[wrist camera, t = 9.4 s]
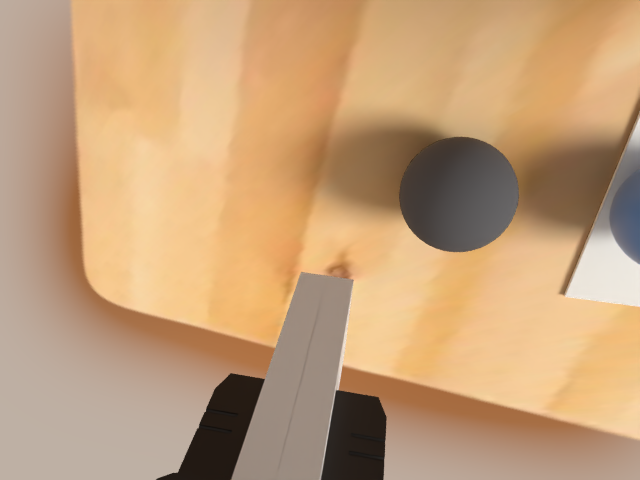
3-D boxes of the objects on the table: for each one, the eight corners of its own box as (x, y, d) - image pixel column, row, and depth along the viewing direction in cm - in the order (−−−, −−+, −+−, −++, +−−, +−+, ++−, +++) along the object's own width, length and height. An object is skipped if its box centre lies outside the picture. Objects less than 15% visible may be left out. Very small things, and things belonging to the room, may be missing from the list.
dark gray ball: (521, 178, 18) (545, 141, 22) (392, 140, 21) (436, 112, 25) (481, 290, 21) (509, 239, 25) (372, 246, 24) (414, 206, 28)
